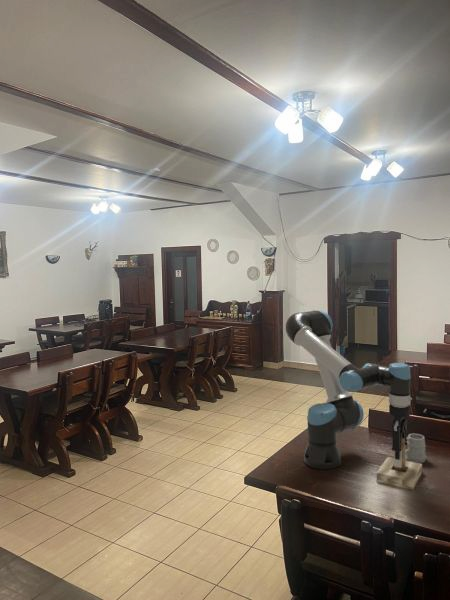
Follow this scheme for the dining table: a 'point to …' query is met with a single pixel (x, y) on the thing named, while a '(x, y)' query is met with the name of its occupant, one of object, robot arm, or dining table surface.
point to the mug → (416, 448)
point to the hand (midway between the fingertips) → (399, 463)
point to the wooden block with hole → (399, 474)
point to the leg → (402, 457)
